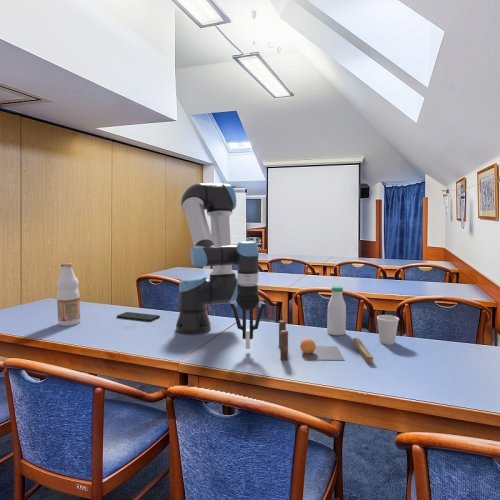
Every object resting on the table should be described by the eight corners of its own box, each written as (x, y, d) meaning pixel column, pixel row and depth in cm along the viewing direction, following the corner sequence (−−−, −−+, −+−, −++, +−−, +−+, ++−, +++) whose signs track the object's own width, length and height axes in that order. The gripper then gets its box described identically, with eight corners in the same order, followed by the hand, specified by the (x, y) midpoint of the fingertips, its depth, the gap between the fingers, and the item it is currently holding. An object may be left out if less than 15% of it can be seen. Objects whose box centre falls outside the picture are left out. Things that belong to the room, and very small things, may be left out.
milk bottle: (345, 336, 163) (347, 289, 161) (327, 335, 164) (327, 288, 162) (345, 331, 170) (346, 285, 168) (327, 330, 172) (328, 285, 170)
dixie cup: (386, 346, 150) (387, 321, 149) (371, 340, 158) (372, 316, 157) (402, 343, 154) (403, 319, 153) (387, 337, 161) (388, 313, 160)
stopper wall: (367, 364, 133) (367, 356, 133) (353, 344, 153) (353, 338, 153) (373, 364, 133) (373, 357, 133) (358, 344, 153) (358, 338, 153)
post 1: (278, 348, 149) (279, 322, 148) (278, 345, 152) (278, 320, 151) (285, 348, 149) (286, 322, 148) (285, 345, 152) (285, 320, 151)
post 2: (280, 360, 137) (280, 332, 136) (280, 357, 139) (280, 330, 138) (288, 360, 137) (288, 332, 136) (287, 357, 139) (287, 330, 138)
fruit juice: (53, 325, 178) (50, 264, 175) (67, 320, 187) (64, 262, 185) (72, 327, 176) (69, 265, 174) (84, 321, 186) (82, 262, 183)
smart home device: (150, 319, 184) (115, 315, 191) (150, 323, 185) (116, 318, 192) (160, 315, 192) (126, 311, 199) (160, 318, 192) (126, 314, 199)
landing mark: (304, 360, 137) (304, 359, 137) (300, 346, 151) (300, 345, 151) (344, 360, 137) (344, 359, 137) (336, 346, 151) (336, 346, 150)
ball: (311, 338, 140) (319, 351, 140) (310, 333, 146) (317, 346, 146) (297, 345, 141) (305, 358, 141) (297, 341, 146) (305, 353, 146)
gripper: (229, 286, 138) (229, 350, 141) (265, 286, 138) (265, 351, 140) (230, 282, 146) (230, 343, 148) (265, 282, 146) (265, 344, 148)
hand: (247, 347), depth 144 cm, fingers closed
